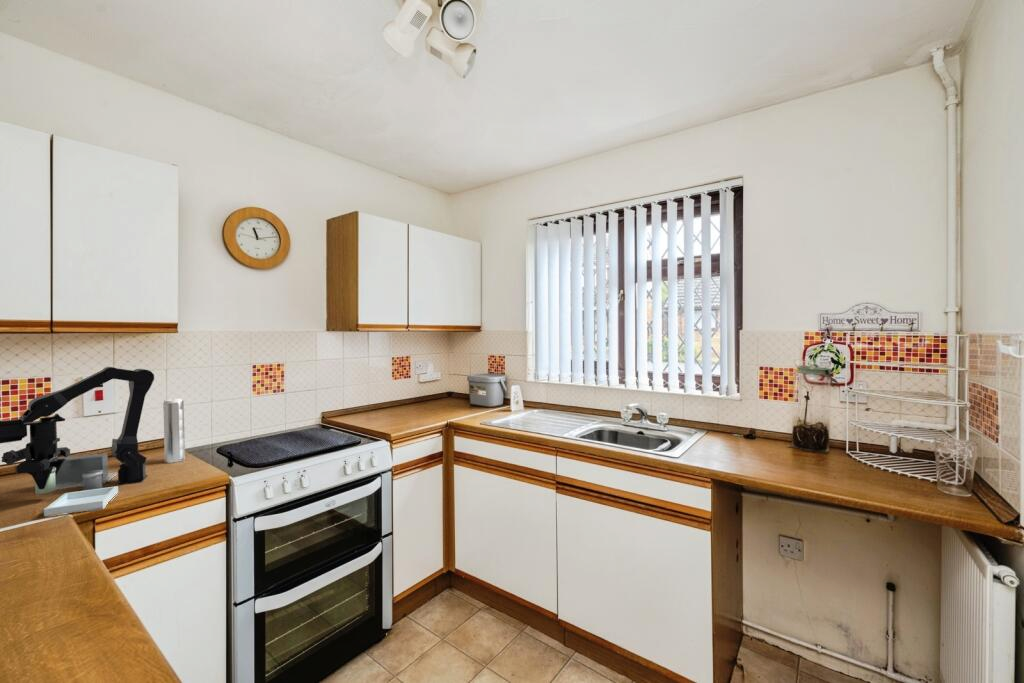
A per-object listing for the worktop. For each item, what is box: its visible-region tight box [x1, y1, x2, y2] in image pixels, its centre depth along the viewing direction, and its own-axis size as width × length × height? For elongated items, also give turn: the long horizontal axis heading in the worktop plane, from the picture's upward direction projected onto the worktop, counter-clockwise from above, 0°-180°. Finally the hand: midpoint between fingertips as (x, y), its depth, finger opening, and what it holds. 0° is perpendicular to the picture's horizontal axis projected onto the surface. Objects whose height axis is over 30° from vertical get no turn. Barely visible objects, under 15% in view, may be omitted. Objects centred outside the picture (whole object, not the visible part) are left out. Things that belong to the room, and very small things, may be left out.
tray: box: [43, 485, 119, 517], centre depth 132 cm, size 13×14×2 cm
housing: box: [55, 452, 118, 490], centre depth 151 cm, size 18×9×9 cm, turn 118°
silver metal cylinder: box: [162, 398, 186, 464], centre depth 176 cm, size 6×6×25 cm
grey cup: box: [82, 470, 103, 491], centre depth 141 cm, size 5×5×7 cm
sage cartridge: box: [34, 467, 57, 495], centre depth 136 cm, size 5×5×7 cm
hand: (45, 486), depth 136 cm, fingers closed on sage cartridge, 4 cm apart
